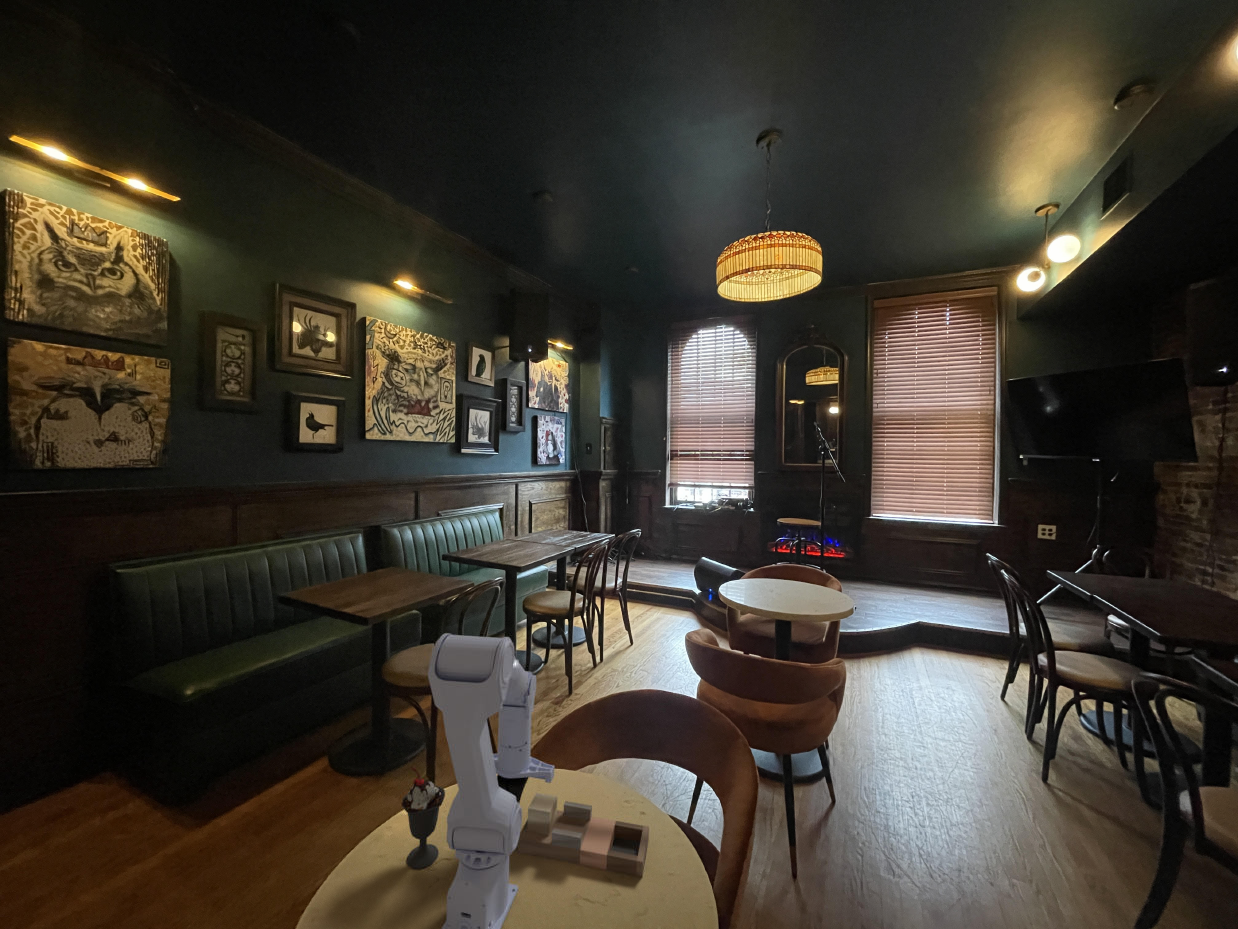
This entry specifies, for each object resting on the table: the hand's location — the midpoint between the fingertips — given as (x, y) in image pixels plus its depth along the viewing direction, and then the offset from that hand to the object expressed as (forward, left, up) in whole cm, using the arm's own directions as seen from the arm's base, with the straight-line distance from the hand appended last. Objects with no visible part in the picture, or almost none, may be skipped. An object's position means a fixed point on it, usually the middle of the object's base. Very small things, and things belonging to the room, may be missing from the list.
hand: (512, 813), depth 87 cm
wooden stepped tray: (0, -13, -3) cm, 14 cm away
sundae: (-8, +12, -4) cm, 15 cm away
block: (0, -6, -1) cm, 6 cm away
